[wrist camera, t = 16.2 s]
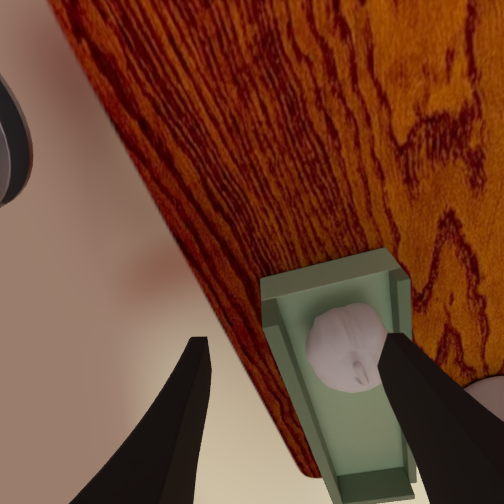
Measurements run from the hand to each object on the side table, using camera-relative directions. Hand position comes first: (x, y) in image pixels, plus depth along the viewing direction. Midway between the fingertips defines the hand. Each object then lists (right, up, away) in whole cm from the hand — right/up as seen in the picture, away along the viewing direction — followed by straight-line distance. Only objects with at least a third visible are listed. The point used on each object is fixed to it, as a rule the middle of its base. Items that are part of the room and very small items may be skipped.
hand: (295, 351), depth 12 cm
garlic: (+4, -1, +9) cm, 10 cm away
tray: (+7, -8, +16) cm, 19 cm away
